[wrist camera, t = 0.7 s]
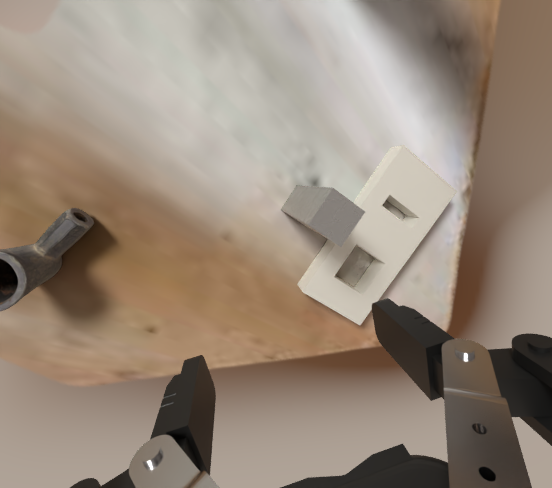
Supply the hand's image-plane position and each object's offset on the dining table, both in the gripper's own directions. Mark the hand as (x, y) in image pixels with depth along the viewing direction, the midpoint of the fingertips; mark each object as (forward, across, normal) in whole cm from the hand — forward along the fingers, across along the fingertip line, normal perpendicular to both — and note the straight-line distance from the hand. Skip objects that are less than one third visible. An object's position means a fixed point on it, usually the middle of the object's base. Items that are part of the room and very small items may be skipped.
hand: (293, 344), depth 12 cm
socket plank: (+27, -17, +6) cm, 33 cm away
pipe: (+27, +25, -5) cm, 37 cm away
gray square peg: (+27, -8, -2) cm, 28 cm away
